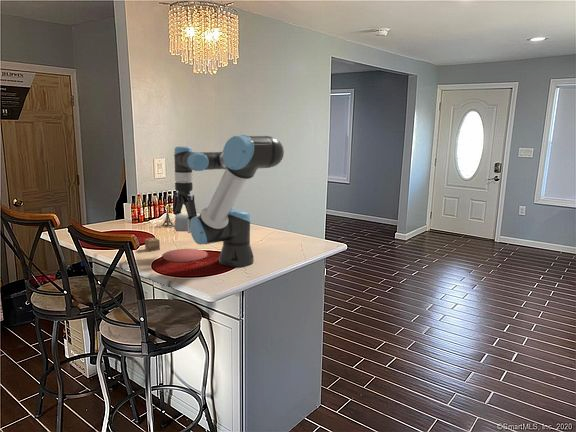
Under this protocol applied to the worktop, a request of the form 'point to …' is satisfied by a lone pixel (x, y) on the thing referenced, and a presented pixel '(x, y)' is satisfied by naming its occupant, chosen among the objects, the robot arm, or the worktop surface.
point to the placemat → (184, 255)
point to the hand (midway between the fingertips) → (184, 230)
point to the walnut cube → (152, 244)
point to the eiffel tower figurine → (167, 221)
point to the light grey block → (181, 223)
